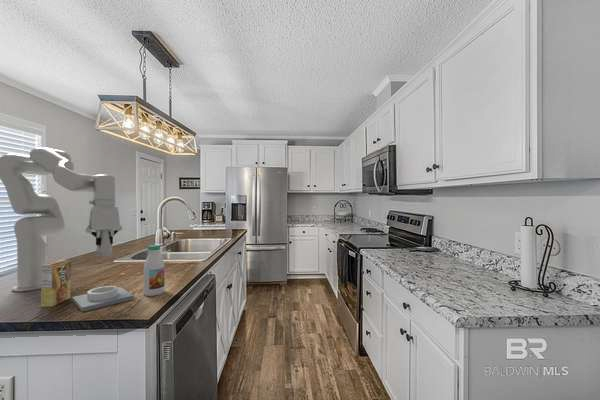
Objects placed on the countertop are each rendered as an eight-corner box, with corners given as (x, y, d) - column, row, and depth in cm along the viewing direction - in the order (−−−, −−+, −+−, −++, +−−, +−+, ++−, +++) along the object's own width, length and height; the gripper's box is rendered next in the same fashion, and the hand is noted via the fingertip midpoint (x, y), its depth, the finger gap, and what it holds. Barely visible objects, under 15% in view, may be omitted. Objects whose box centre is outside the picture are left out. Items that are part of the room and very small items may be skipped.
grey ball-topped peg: (104, 257, 112) (104, 226, 112) (92, 256, 113) (92, 226, 113) (116, 254, 118) (116, 225, 118) (105, 254, 119) (105, 224, 119)
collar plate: (72, 300, 104) (72, 290, 104) (120, 290, 116) (120, 281, 116) (81, 311, 93) (81, 300, 93) (133, 299, 105) (133, 289, 105)
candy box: (59, 298, 106) (59, 259, 106) (71, 298, 107) (71, 259, 107) (40, 307, 97) (40, 264, 98) (53, 306, 98) (53, 264, 98)
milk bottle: (140, 297, 107) (141, 247, 108) (146, 291, 115) (146, 244, 115) (162, 295, 109) (162, 246, 110) (166, 289, 117) (166, 243, 117)
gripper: (82, 203, 107) (82, 249, 107) (129, 203, 120) (129, 244, 120) (78, 203, 112) (78, 247, 112) (123, 203, 124) (123, 243, 124)
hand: (104, 245), depth 116 cm, fingers closed on grey ball-topped peg, 3 cm apart
